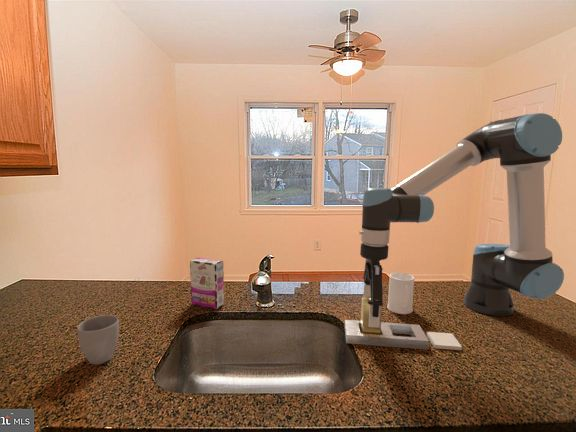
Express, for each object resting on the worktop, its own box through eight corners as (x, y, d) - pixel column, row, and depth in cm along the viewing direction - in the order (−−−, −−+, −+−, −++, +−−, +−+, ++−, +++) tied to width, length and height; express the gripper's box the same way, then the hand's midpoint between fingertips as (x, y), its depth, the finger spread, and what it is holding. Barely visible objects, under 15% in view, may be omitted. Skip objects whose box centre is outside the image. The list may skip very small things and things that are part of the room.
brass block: (377, 333, 92) (379, 295, 90) (379, 342, 87) (382, 302, 85) (360, 331, 93) (361, 294, 91) (361, 340, 88) (363, 301, 86)
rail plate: (418, 332, 92) (419, 324, 92) (428, 349, 83) (429, 341, 83) (344, 327, 95) (344, 319, 95) (346, 343, 86) (346, 334, 86)
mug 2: (417, 319, 100) (420, 284, 99) (390, 317, 102) (393, 283, 100) (409, 304, 112) (411, 273, 110) (385, 302, 113) (387, 271, 112)
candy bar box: (225, 304, 111) (224, 260, 108) (216, 310, 106) (215, 264, 104) (199, 299, 115) (198, 256, 112) (190, 304, 110) (189, 260, 108)
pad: (451, 336, 90) (452, 333, 90) (461, 350, 83) (462, 346, 83) (426, 334, 91) (427, 331, 91) (434, 348, 84) (435, 344, 84)
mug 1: (112, 367, 75) (109, 330, 73) (73, 370, 73) (69, 332, 72) (130, 340, 86) (128, 308, 85) (96, 342, 85) (93, 310, 84)
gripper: (356, 234, 98) (353, 297, 102) (366, 254, 74) (361, 336, 77) (380, 235, 98) (376, 298, 101) (398, 256, 73) (392, 339, 76)
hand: (370, 315), depth 89 cm, fingers open, 13 cm apart
